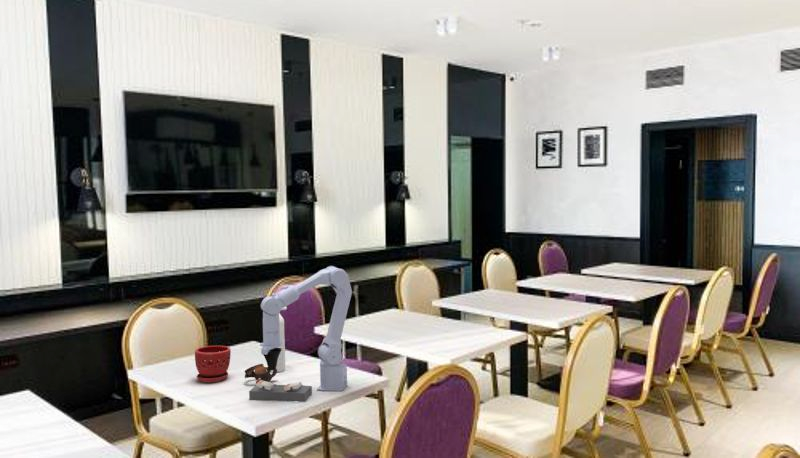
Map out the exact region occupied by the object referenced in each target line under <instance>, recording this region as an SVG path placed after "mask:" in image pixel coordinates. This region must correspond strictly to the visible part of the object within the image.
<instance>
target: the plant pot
mask: <svg viewBox="0 0 800 458" xmlns="http://www.w3.org/2000/svg"><path fill="white" fill-rule="evenodd" d="M231 353H232V352H231V348H230V347H229V346H226V345H207V346H202V347H198V348H196V349H195V351H194V361H195V367H196V370H197V372H198V374H196V378H197V380H199V382H202V383H216V382H217V383H218V382H221V381H224V380H225V379H227V378H228V376H229V372H228V370H229V366H230V363H231Z"/></svg>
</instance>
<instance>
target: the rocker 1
mask: <svg viewBox="0 0 800 458" xmlns="http://www.w3.org/2000/svg"><path fill="white" fill-rule="evenodd" d="M274 384H275V383H273V382H271V381H270V382H266V381H262V380H261V381H259V382H258V383H257V384H256V385H257V387H260V388H262V389H267V390H271V389H272V388H273V387H274Z"/></svg>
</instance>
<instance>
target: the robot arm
mask: <svg viewBox="0 0 800 458" xmlns="http://www.w3.org/2000/svg"><path fill="white" fill-rule="evenodd" d="M319 285H327V286H329V285H330V286H331V287H332V288H333V290H334V291H335V293H336V296H335V301H334V304H333V307H332V311H331V312H332V313H331V316H330V320H329V324H328V328H327V333H326V336H324V338H323V339H322V343H321V344H320V345H319V347H318V348H317V356H318V357H319V359H320V362H319V373H320V375H319V377H320V380H319V381H320V384H319V386H318V387H317V388H316V390H317V391H329V392H330V391H333V392H342V390H343V389H344V390H345V388H346V387H347V386H348V385H347V384H348V374H347V373H348V369H347V368H348V367H347V365H346V364H345V363H341V361H342V356H343V355H342V348H343V346H342V341H341V337H342V335H343V331H344V326H345V322H346V319H347V315H348V309H349V306H350V301H351V298H352V294H353V290H352V286H351V283H350V276H349V275H348V273H347V272H346V271H345V269H343V268H338V267H336V266H334V265H329V266H327V267H326V268H323V269H320V270H318V271H317V272H316V273H314V274H312V275H311V276H310V277H307V278H306V279H304V280H303V281H302V282H299V284H296V286H295V285H291V284H290V285H284V286H283V289H281V290H279V291H277V292H273V293H271V295H270V296H266V297H264V298H263V299H262V301H261V302H260V309H261V310H262V338H263V339H262V342H261V343H260V344H259V347H261V348H260V353H261V355H263V357H264V358H265V362H266V365H267V367H268V369H269V370H275V369H276V365H277V360H278V357H279V354H280V352H281V348H277V347H279V346H281V344H282V339H280V321H279V313H280V312H281V311H282V310H281V308H284V307H287V306H289V305H291V304H293V303H294V302H296V301H299V298H300V295H301V294H303V293H305V292H307V291H309V290H311V289H313V288H315V287H317V286H319ZM346 385H347V386H346ZM344 390H343V391H344Z"/></svg>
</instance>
